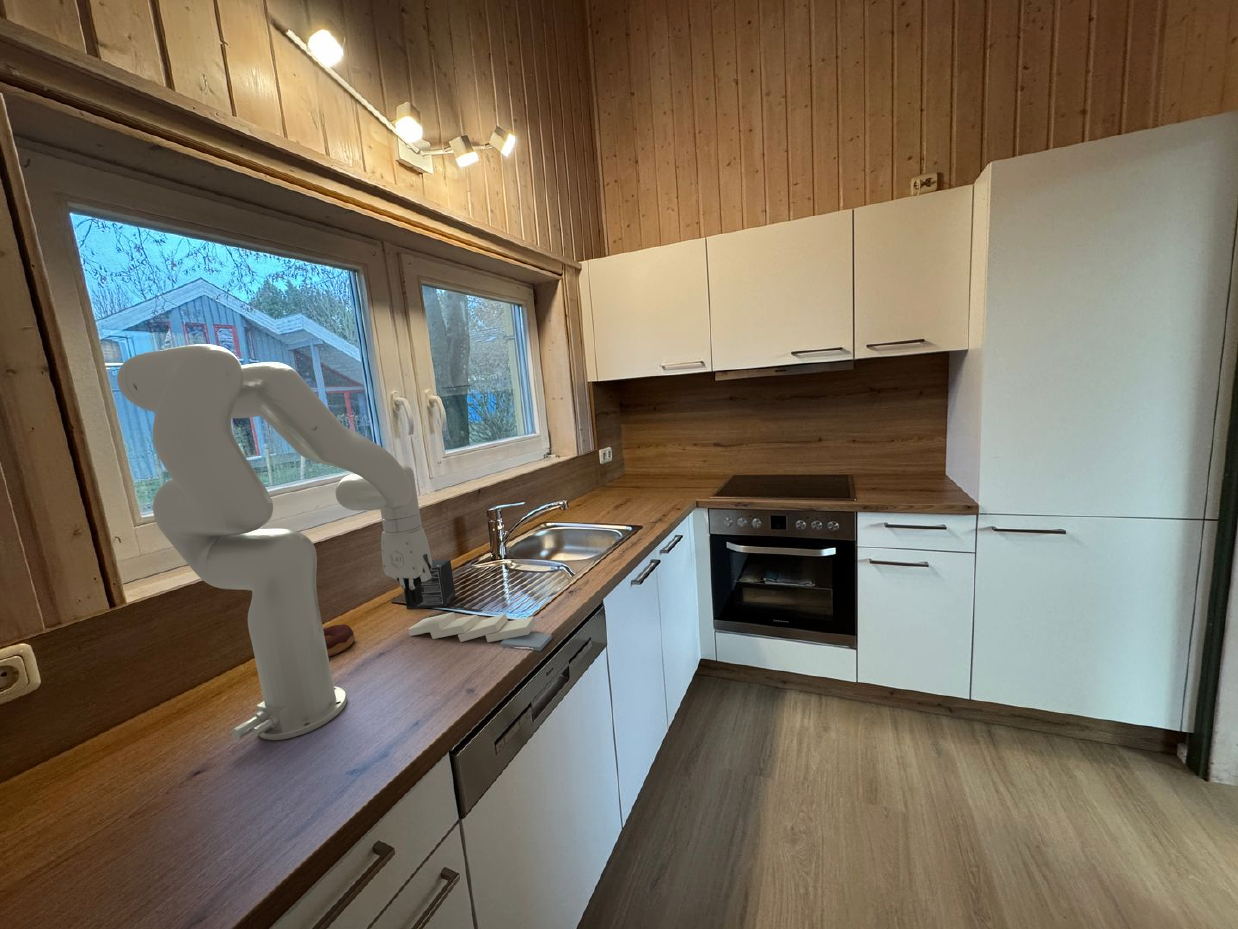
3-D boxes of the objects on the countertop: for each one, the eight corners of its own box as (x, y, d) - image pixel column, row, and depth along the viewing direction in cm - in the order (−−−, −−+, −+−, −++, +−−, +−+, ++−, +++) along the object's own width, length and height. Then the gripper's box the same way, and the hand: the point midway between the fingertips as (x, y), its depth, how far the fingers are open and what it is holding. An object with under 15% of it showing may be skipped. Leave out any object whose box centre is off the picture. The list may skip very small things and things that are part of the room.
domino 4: (496, 631, 106) (536, 623, 104) (487, 642, 101) (528, 634, 99) (494, 624, 106) (534, 616, 104) (485, 635, 101) (526, 627, 99)
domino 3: (472, 630, 107) (508, 620, 105) (460, 642, 102) (497, 631, 100) (469, 624, 107) (505, 613, 105) (457, 635, 102) (494, 624, 100)
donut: (290, 665, 100) (287, 647, 99) (316, 641, 109) (313, 624, 109) (342, 659, 100) (339, 640, 100) (363, 636, 110) (360, 619, 109)
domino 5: (500, 643, 99) (539, 647, 96) (513, 631, 103) (551, 634, 100) (501, 650, 99) (540, 654, 96) (514, 638, 104) (552, 642, 101)
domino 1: (426, 625, 112) (456, 619, 109) (409, 636, 107) (440, 629, 104) (423, 619, 112) (453, 612, 108) (407, 629, 107) (437, 622, 104)
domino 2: (448, 628, 110) (479, 621, 106) (432, 639, 105) (464, 632, 101) (446, 621, 109) (477, 614, 106) (430, 632, 105) (461, 625, 101)
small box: (457, 596, 127) (451, 557, 126) (446, 607, 121) (440, 566, 120) (418, 598, 129) (412, 560, 127) (405, 609, 122) (399, 569, 121)
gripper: (362, 528, 106) (376, 609, 108) (415, 529, 100) (428, 615, 102) (390, 518, 113) (402, 595, 115) (441, 519, 107) (453, 600, 109)
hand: (415, 604), depth 109 cm, fingers closed
